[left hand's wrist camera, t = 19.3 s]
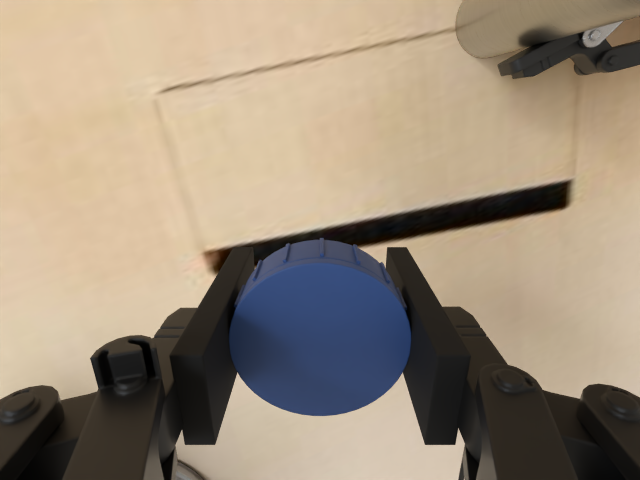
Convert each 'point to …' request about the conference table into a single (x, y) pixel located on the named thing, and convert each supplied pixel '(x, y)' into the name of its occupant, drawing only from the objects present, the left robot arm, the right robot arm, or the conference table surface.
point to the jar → (532, 22)
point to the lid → (320, 329)
